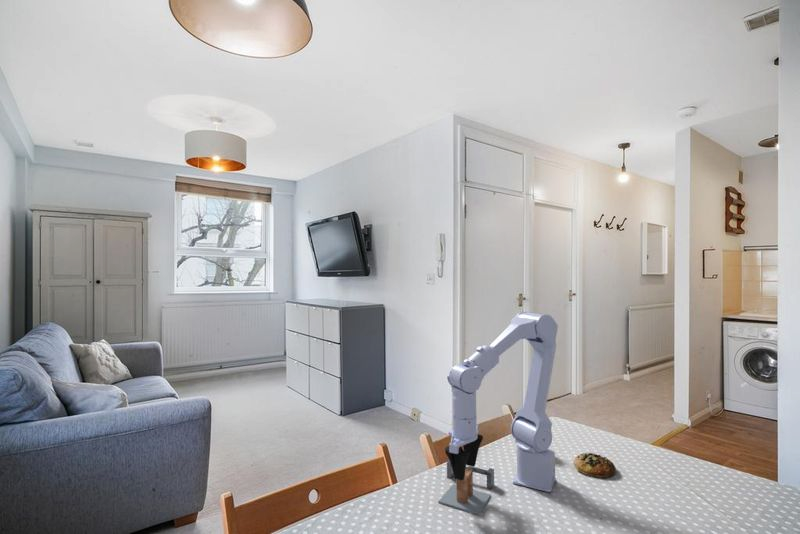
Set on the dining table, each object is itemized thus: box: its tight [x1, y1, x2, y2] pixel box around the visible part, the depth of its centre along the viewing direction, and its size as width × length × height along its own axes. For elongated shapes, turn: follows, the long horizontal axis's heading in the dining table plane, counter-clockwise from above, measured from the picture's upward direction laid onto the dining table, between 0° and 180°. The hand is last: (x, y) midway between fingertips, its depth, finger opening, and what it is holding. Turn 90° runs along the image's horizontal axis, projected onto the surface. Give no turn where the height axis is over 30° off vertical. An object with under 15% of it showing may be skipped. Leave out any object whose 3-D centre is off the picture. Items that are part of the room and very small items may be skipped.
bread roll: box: [573, 452, 617, 479], centre depth 114 cm, size 11×11×5 cm
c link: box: [456, 468, 474, 504], centre depth 99 cm, size 2×5×6 cm, turn 150°
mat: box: [438, 483, 492, 516], centre depth 99 cm, size 10×9×1 cm
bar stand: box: [446, 459, 495, 490], centre depth 107 cm, size 12×2×4 cm, turn 60°
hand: (465, 471), depth 99 cm, fingers open, 7 cm apart
